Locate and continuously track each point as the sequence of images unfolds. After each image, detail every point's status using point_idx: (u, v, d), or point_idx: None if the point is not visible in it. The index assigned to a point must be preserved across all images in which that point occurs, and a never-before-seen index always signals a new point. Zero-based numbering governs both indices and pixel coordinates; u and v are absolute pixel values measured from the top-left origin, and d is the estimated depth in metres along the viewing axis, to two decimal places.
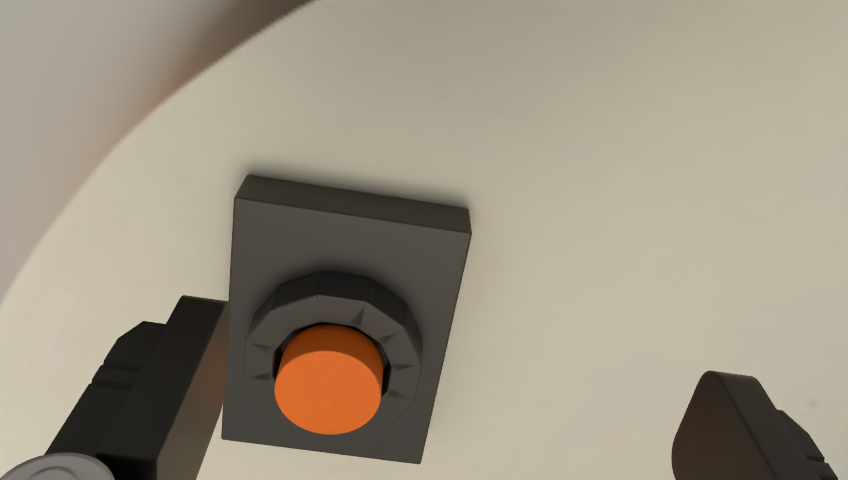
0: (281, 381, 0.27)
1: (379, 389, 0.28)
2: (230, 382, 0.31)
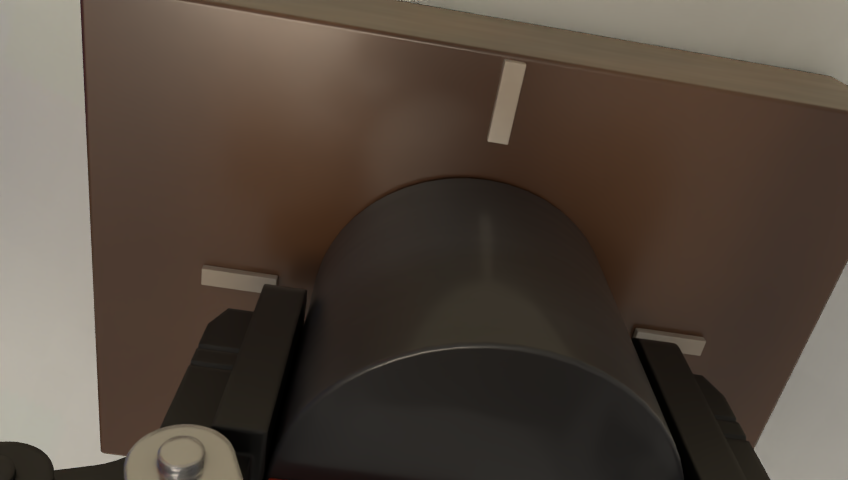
0: None
1: None
2: None
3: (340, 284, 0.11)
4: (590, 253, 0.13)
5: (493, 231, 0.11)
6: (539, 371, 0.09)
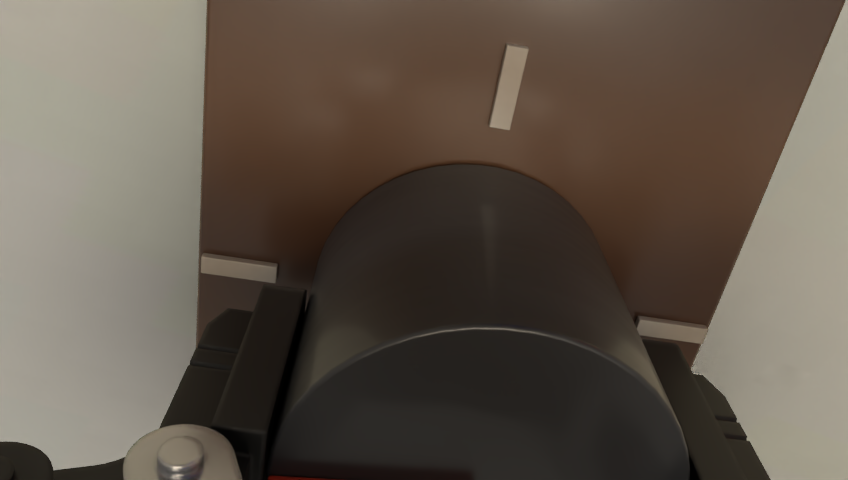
0: None
1: None
2: None
3: (332, 279, 0.11)
4: (585, 230, 0.13)
5: (480, 214, 0.11)
6: (527, 349, 0.09)
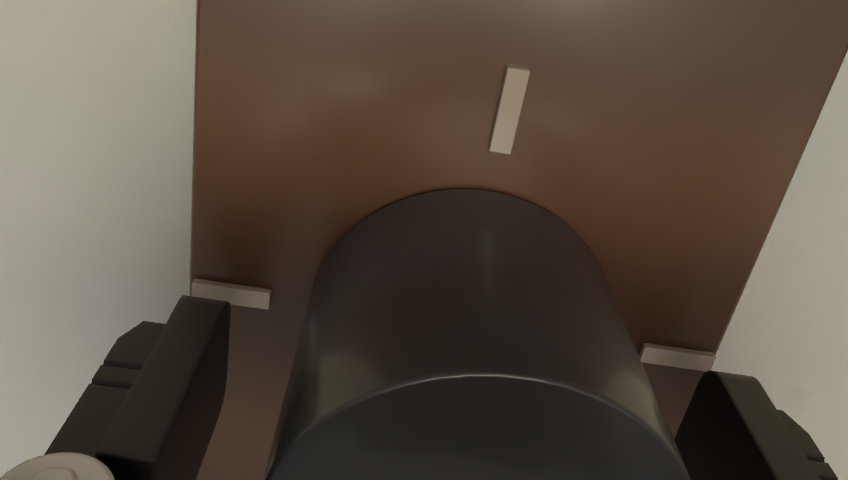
0: None
1: None
2: None
3: (324, 314, 0.11)
4: (588, 257, 0.12)
5: (478, 245, 0.11)
6: (526, 397, 0.08)
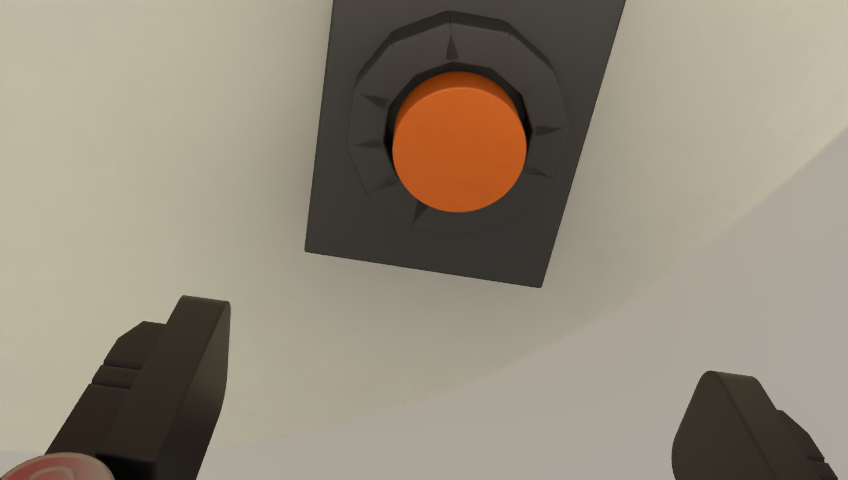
0: (514, 172, 0.22)
1: (394, 158, 0.22)
2: (599, 61, 0.24)
3: None
4: None
5: None
6: None
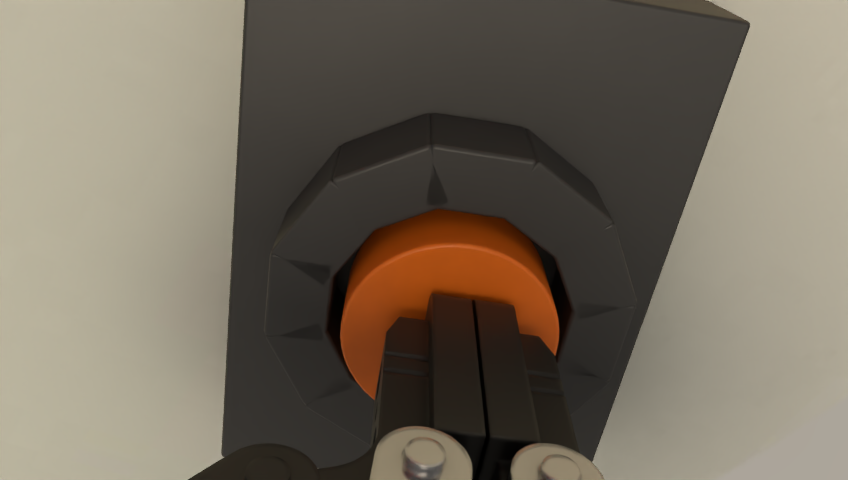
0: None
1: (343, 350, 0.14)
2: (679, 187, 0.15)
3: None
4: None
5: None
6: None
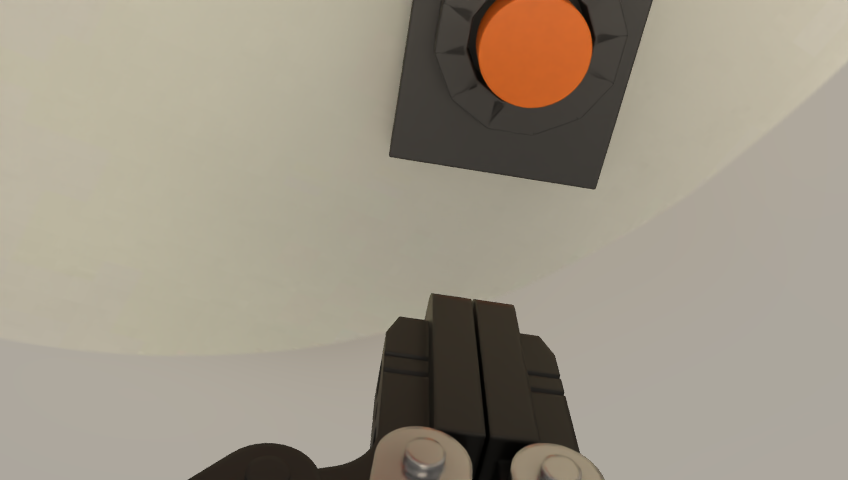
0: (581, 71, 0.26)
1: (479, 59, 0.26)
2: None
3: None
4: None
5: None
6: None
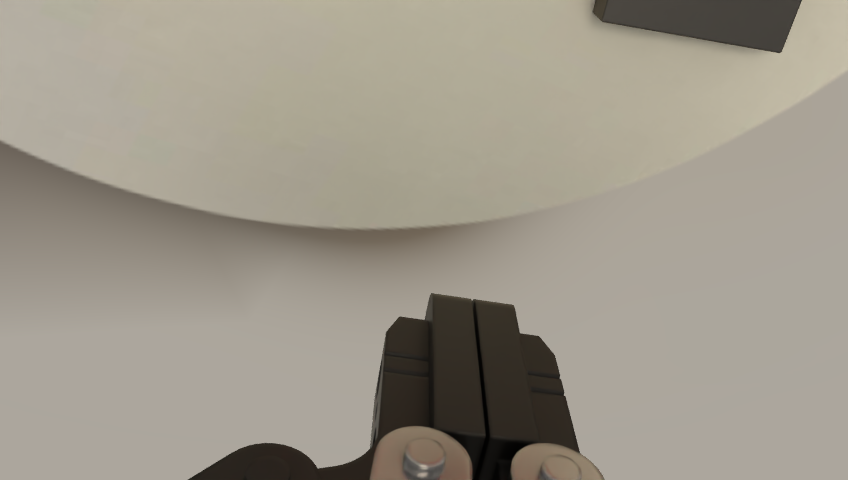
0: None
1: None
2: None
3: None
4: None
5: None
6: None
